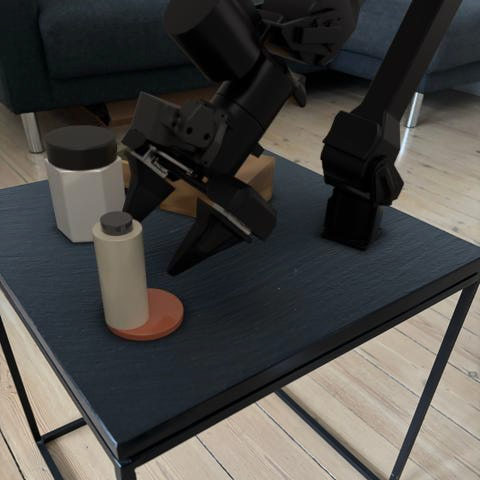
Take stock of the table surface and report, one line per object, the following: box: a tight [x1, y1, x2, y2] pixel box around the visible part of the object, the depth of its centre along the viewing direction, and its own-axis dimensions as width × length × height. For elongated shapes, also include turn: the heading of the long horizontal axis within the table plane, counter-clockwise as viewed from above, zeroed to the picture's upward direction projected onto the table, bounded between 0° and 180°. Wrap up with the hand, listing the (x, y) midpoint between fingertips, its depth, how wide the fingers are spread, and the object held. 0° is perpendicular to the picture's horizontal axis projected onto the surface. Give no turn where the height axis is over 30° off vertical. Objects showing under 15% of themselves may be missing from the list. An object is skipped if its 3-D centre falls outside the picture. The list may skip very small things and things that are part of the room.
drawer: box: [117, 143, 132, 189], centre depth 77 cm, size 13×10×4 cm
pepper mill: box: [92, 211, 149, 330], centre depth 49 cm, size 4×4×11 cm
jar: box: [43, 125, 126, 244], centre depth 64 cm, size 9×8×12 cm
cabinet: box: [159, 153, 276, 219], centre depth 73 cm, size 13×12×6 cm
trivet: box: [105, 287, 185, 342], centre depth 53 cm, size 8×8×1 cm
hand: (143, 252), depth 49 cm, fingers open, 9 cm apart
